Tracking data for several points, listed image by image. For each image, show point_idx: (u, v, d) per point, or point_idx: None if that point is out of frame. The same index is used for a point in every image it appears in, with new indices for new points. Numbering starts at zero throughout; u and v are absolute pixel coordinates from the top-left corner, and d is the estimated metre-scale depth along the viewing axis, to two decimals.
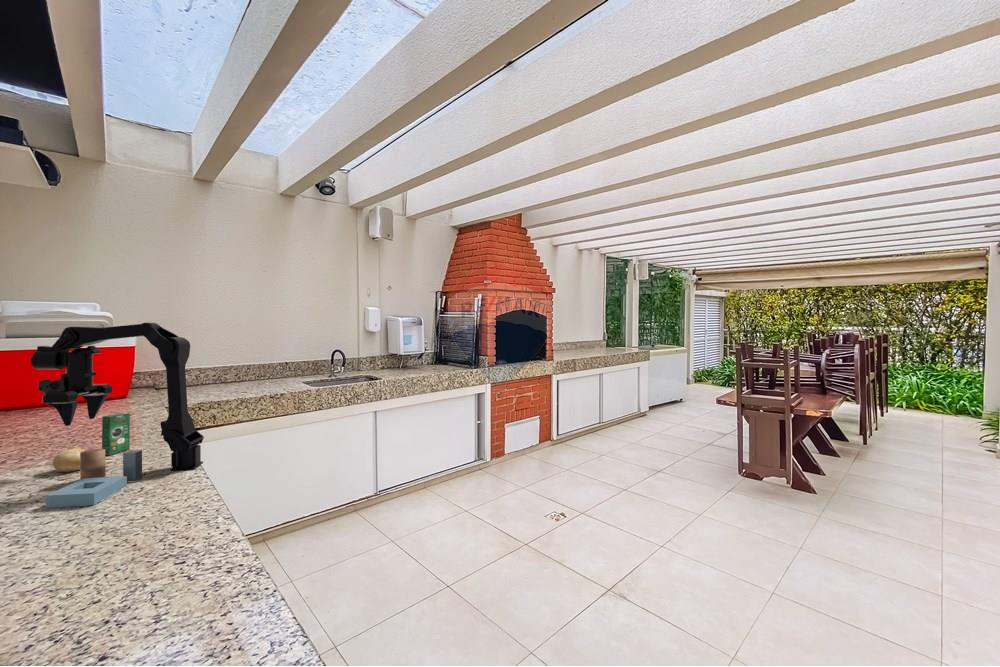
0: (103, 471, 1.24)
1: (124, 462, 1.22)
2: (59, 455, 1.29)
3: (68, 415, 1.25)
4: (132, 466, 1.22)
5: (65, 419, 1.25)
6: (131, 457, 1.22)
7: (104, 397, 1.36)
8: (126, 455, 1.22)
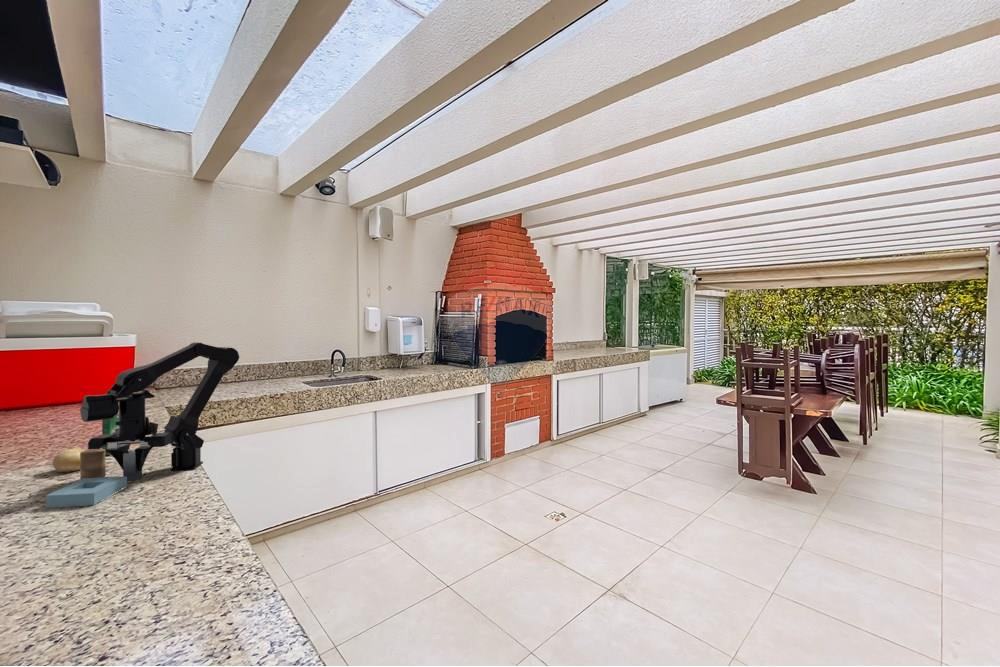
0: (103, 471, 1.24)
1: (124, 462, 1.22)
2: (59, 455, 1.29)
3: None
4: (132, 466, 1.22)
5: None
6: (131, 457, 1.22)
7: (137, 451, 1.21)
8: (126, 455, 1.22)
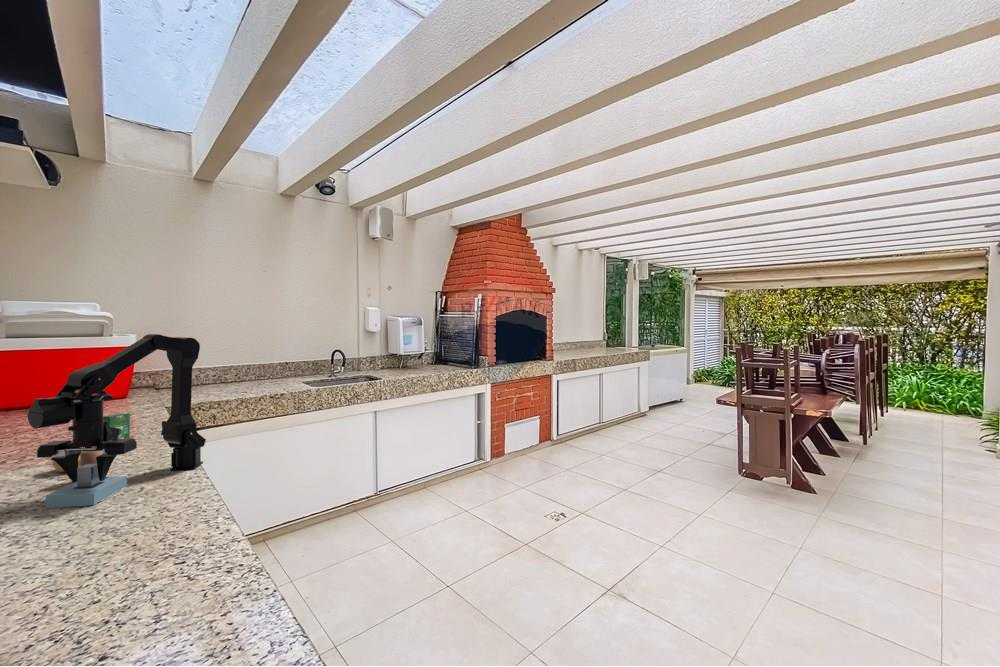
0: None
1: (78, 477, 1.10)
2: None
3: None
4: (87, 482, 1.10)
5: None
6: (86, 472, 1.10)
7: (98, 459, 1.09)
8: (81, 470, 1.10)
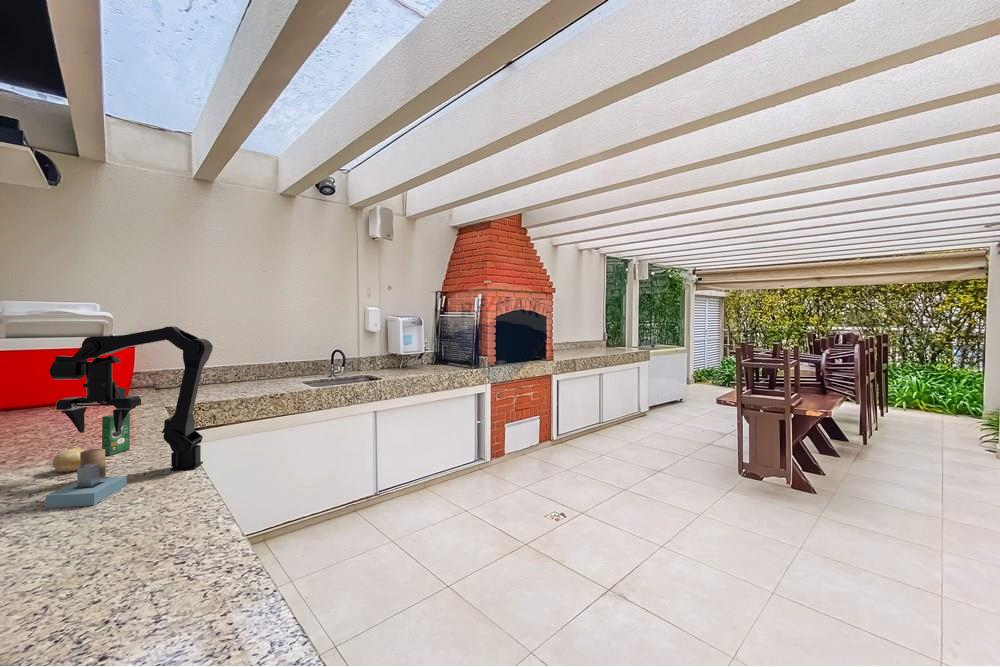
0: (103, 471, 1.24)
1: (78, 477, 1.10)
2: (59, 455, 1.29)
3: None
4: (88, 482, 1.10)
5: None
6: (86, 472, 1.10)
7: (115, 412, 1.27)
8: (81, 470, 1.10)
